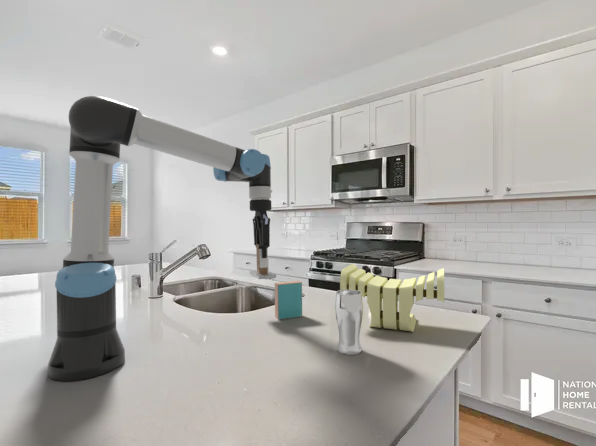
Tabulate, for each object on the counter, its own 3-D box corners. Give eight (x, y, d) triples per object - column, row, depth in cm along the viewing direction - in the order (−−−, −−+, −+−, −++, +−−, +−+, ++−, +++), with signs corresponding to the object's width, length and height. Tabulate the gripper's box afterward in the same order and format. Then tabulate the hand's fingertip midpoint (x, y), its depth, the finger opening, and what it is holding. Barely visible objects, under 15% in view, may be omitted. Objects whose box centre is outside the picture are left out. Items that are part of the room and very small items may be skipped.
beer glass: (368, 349, 85) (367, 291, 85) (353, 358, 80) (352, 296, 80) (345, 343, 90) (345, 288, 90) (330, 350, 85) (329, 292, 85)
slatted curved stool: (340, 326, 104) (340, 269, 104) (352, 313, 119) (352, 263, 119) (444, 339, 92) (444, 275, 92) (444, 322, 107) (443, 267, 107)
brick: (302, 316, 115) (302, 282, 115) (278, 320, 112) (277, 284, 111) (298, 314, 118) (298, 280, 118) (275, 317, 114) (274, 282, 114)
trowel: (276, 277, 111) (275, 244, 111) (258, 279, 109) (258, 245, 109) (265, 272, 122) (264, 242, 122) (249, 273, 120) (248, 243, 120)
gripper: (278, 198, 109) (280, 269, 110) (264, 200, 124) (265, 263, 124) (256, 198, 106) (258, 270, 107) (244, 200, 121) (246, 264, 122)
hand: (262, 266), depth 116 cm, fingers closed on trowel, 3 cm apart
